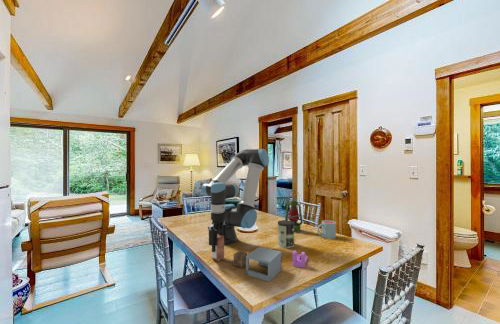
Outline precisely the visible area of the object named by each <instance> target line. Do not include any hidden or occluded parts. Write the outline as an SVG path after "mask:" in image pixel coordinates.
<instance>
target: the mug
mask: <svg viewBox="0 0 500 324" xmlns="http://www.w3.org/2000/svg"><path fill="white" fill-rule="evenodd" d="M320 228H321V232H320ZM317 233H318V234H319V235H320V236H321V237H322V238H324V239H329V240H331V239H333V240H334V239H336V236H337V235H336V233H337V222H336V221H334V220H328V219H326V220H325V219H324V220H321V223H320V224H319V225H318V226H317Z"/></svg>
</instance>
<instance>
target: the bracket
mask: <svg viewBox="0 0 500 324" xmlns="http://www.w3.org/2000/svg"><path fill="white" fill-rule="evenodd" d="M307 261H308V255H306V251H301V253H299V254H298V251H297V250H293V251H292V263H291V264H292V266H293V267H298V268H303V269H305V265H306V264H307Z"/></svg>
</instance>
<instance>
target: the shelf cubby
mask: <svg viewBox="0 0 500 324" xmlns="http://www.w3.org/2000/svg"><path fill="white" fill-rule="evenodd" d="M250 260H251V261H255V262H258V265H259V266H263V267H265V268H267V274H265V273H261V272H258V271H255V270H251V269H250ZM282 265H283V264H282V251H280V250H275V249H270V248H267V247H261V246H259V247H257V248H255V249H254V250H252V251H251V252H249V253H247V256H246V265H245V275H246V276H250V277H253V278H256V279H259V280H263V281H266V282H271V281H272V280H273V279H274V278H275V277H277V275H278V274H279V273H280V272H281V270H282Z"/></svg>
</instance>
